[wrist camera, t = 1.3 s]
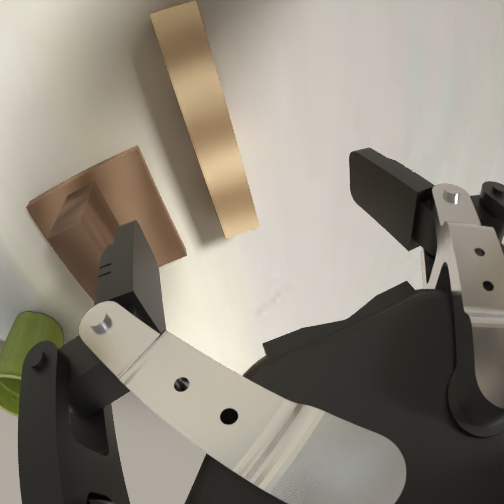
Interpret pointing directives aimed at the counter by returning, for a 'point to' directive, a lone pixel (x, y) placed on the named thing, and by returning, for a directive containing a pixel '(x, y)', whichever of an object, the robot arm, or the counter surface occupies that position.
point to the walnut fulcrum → (104, 215)
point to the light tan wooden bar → (205, 114)
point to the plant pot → (23, 353)
